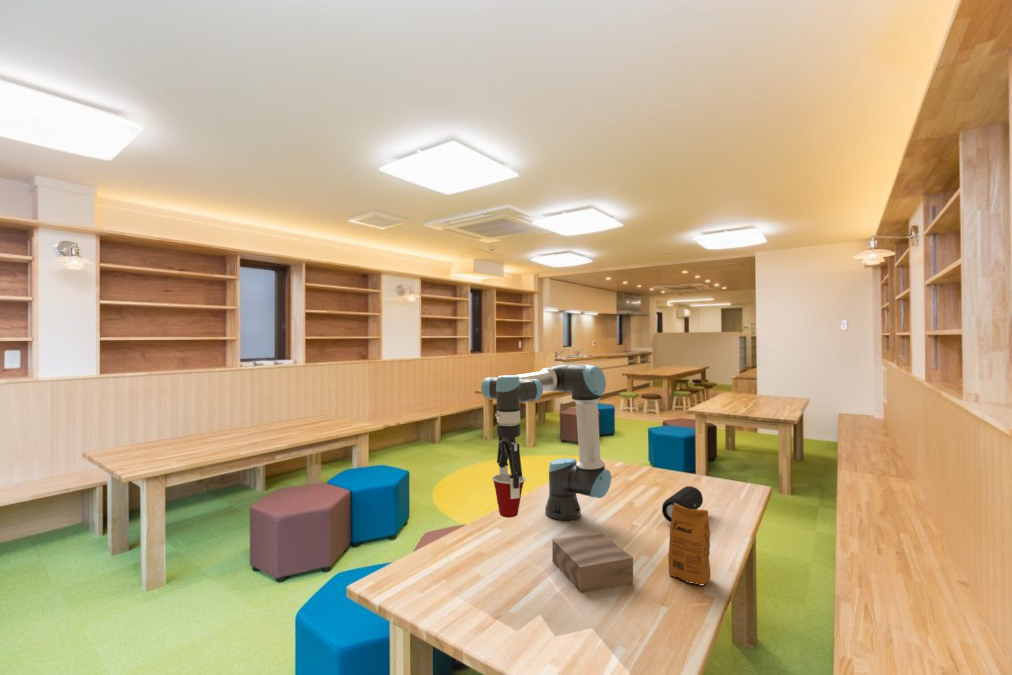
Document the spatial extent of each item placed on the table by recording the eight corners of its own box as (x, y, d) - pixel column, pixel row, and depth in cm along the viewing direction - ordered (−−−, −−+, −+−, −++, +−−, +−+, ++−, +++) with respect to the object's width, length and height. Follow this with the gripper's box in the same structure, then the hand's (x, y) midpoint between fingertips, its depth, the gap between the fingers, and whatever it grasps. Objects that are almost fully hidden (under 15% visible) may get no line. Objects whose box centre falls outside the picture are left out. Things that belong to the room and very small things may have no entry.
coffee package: (675, 564, 152) (675, 497, 152) (714, 576, 143) (714, 506, 143) (663, 575, 144) (662, 505, 144) (703, 589, 136) (702, 515, 136)
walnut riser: (552, 563, 153) (552, 539, 153) (599, 555, 158) (599, 531, 158) (580, 594, 134) (580, 567, 134) (633, 583, 139) (632, 557, 139)
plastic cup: (533, 513, 146) (532, 476, 147) (511, 523, 138) (510, 484, 138) (507, 505, 154) (507, 469, 154) (485, 514, 146) (485, 477, 146)
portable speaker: (684, 528, 181) (684, 503, 181) (660, 522, 187) (659, 497, 187) (704, 510, 200) (704, 487, 200) (681, 504, 207) (681, 482, 207)
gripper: (487, 418, 156) (487, 482, 156) (508, 431, 134) (509, 506, 134) (507, 417, 158) (508, 480, 158) (532, 429, 136) (533, 503, 136)
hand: (509, 492), depth 146 cm, fingers closed on plastic cup, 11 cm apart
